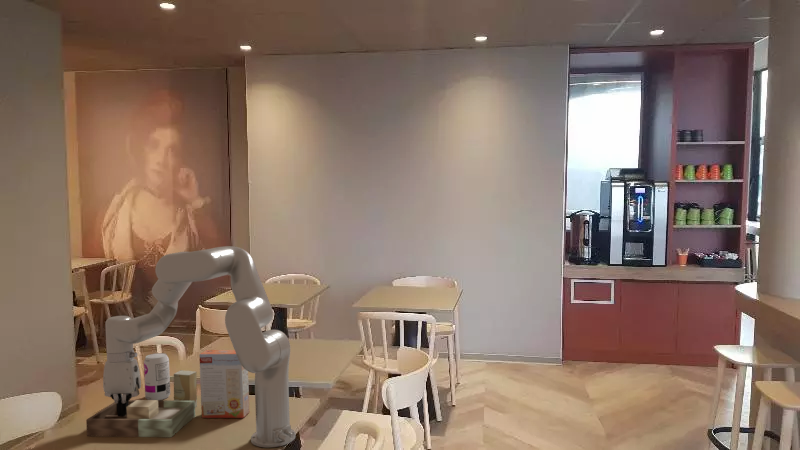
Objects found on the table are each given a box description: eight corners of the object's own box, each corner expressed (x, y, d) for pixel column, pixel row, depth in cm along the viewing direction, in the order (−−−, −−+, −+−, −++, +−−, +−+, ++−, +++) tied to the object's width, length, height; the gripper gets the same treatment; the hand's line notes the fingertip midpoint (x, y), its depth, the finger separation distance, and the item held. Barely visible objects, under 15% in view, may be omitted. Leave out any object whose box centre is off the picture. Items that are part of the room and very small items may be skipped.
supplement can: (143, 402, 206) (142, 359, 206) (147, 395, 214) (145, 353, 214) (168, 400, 209) (167, 357, 208) (171, 392, 217) (169, 351, 216)
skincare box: (173, 409, 199) (172, 373, 198) (181, 405, 203) (179, 369, 202) (190, 411, 197) (189, 374, 197) (198, 406, 201) (196, 370, 201)
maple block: (158, 412, 188) (158, 400, 188) (149, 419, 182) (148, 406, 182) (137, 412, 188) (136, 400, 188) (127, 419, 182) (126, 406, 182)
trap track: (195, 415, 193) (194, 400, 192) (171, 437, 176) (170, 420, 176) (118, 415, 195) (117, 400, 195) (87, 436, 178) (86, 419, 178)
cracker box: (250, 412, 195) (248, 349, 194) (243, 419, 189) (241, 353, 188) (208, 411, 197) (206, 348, 196) (201, 418, 191) (198, 353, 190)
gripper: (149, 353, 188) (152, 410, 189) (104, 353, 189) (106, 410, 190) (137, 359, 180) (139, 419, 181) (90, 359, 182) (92, 419, 182)
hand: (122, 414), depth 186 cm, fingers closed
